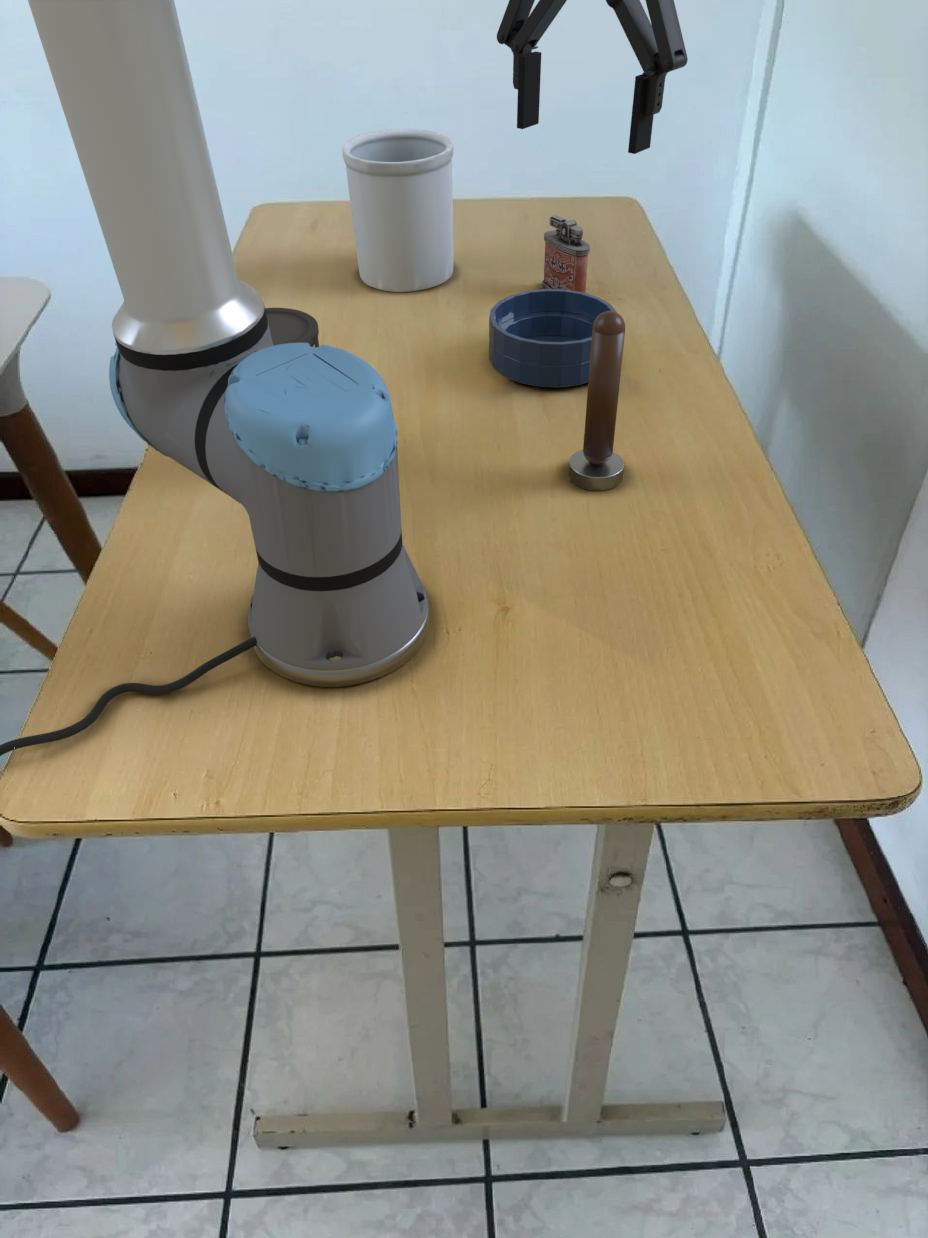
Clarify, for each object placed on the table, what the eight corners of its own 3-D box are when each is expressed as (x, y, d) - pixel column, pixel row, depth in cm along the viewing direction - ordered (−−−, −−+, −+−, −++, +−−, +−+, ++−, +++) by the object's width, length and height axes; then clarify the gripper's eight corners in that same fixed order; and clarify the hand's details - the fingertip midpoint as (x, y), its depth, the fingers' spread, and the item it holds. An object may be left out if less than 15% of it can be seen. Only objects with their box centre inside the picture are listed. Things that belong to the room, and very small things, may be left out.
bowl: (562, 405, 110) (565, 356, 106) (464, 365, 118) (463, 318, 114) (637, 358, 118) (643, 311, 114) (541, 323, 126) (542, 278, 122)
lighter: (592, 300, 131) (597, 226, 124) (572, 307, 130) (577, 232, 123) (555, 281, 136) (558, 209, 129) (536, 287, 135) (539, 214, 128)
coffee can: (263, 422, 108) (242, 301, 99) (348, 435, 106) (334, 312, 96) (219, 470, 101) (192, 345, 91) (309, 485, 98) (290, 358, 89)
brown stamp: (601, 497, 96) (618, 331, 84) (557, 477, 99) (567, 313, 87) (633, 473, 99) (653, 310, 87) (589, 454, 102) (603, 294, 90)
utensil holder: (382, 303, 131) (372, 168, 120) (337, 267, 141) (324, 139, 129) (474, 280, 137) (474, 148, 125) (425, 247, 146) (420, 122, 135)
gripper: (753, -129, 78) (710, 151, 92) (512, -140, 90) (507, 109, 104) (706, -123, 73) (669, 170, 87) (460, -135, 86) (462, 123, 100)
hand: (581, 137), depth 96 cm, fingers open, 13 cm apart
